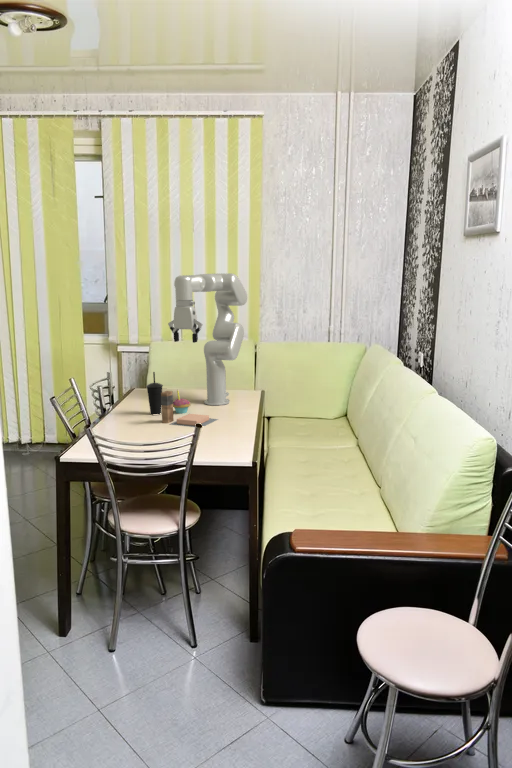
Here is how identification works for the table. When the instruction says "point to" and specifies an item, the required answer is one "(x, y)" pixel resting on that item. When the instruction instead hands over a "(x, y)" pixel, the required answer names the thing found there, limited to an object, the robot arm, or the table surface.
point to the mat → (194, 426)
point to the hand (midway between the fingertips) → (185, 341)
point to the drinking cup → (154, 396)
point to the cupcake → (181, 405)
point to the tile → (192, 419)
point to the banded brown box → (167, 406)
